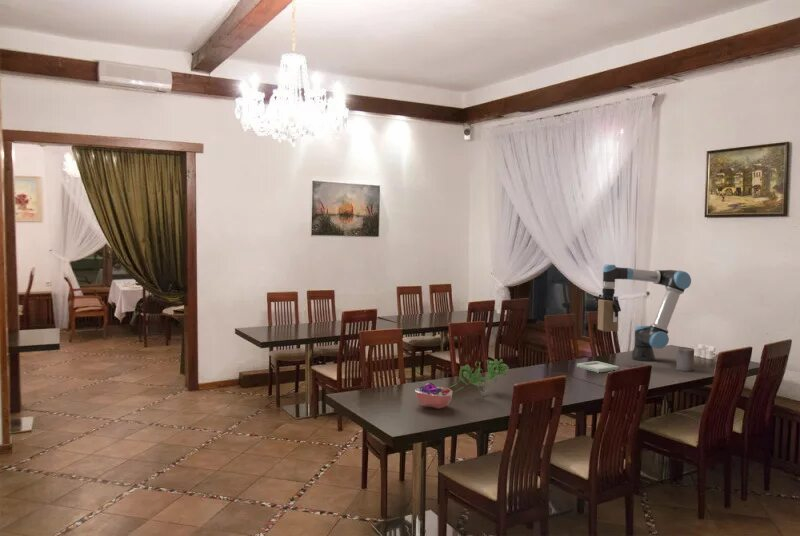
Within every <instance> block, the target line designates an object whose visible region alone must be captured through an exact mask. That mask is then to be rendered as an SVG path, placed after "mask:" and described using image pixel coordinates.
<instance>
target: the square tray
mask: <svg viewBox="0 0 800 536" xmlns="http://www.w3.org/2000/svg"><path fill="white" fill-rule="evenodd" d="M576 367H577V368H579V369H583V370H586V371H591V372H595V373H599V372H600V373H604V372H612V371H613V370H615V371H619V370H618V369H620V366H618V365H614V364H610V363H607V362H602V361H598V360H595V361H593V360H592V361H587V362H579V363H578V362H577V363H576ZM600 373H599V374H600Z"/></svg>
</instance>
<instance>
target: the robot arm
mask: <svg viewBox="0 0 800 536" xmlns="http://www.w3.org/2000/svg"><path fill="white" fill-rule="evenodd" d="M602 275H603V276H602V294H599V295H598V299H597V301H596V304H595V306H594V308H595V309H597V313H596V314H598V300H599V299H603V300H608V301H612V300H613V301H614V303H615V305H613V304H612V307H613V309H614V312H613V322H617V317H618V318H619V312H621V311H622V309H621V306H620V303H619V302H618V301H619V296H614V295H615V293H616V292H615V291H616V290H615V288H616V280H630V281H640V282H648V283H649V282H651V283H653V284H656V285H660V286H663V287H665V294H664V297H663V299H662V301H661V304H660V307H659V310H658V312H657V313H656V316H655V319H654V322H653V323H652V324H650V325H637V326H636V325H635V328H634V347H633V350H632V353H631V359H633V360H636V361H641V360H643V361H642V362H652V361H656V356H655V353H654V352H655V351H654V349H664V348H665V347H666V346H667V345H668V344H669V340H670V338H669V335H668V334H669V329H668V327H669V325H670V322H671V319H672V317H673V314H674V312H675V309H676V306H677V304H678V300H679V298H680V295H683V294H684V292H685V290H686V289H687V288H690V286H691V284H692V278H691V276H690V274H689V273H688V272H686V271H683V270H674V269H665V270H664V269H663V270H661V269H655V270H648V269H647V270H646V269H645V270H644V269H639V268H638V269H637V268H632V267H618V266H617V265H615V264H604V265H603V269H602Z"/></svg>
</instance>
